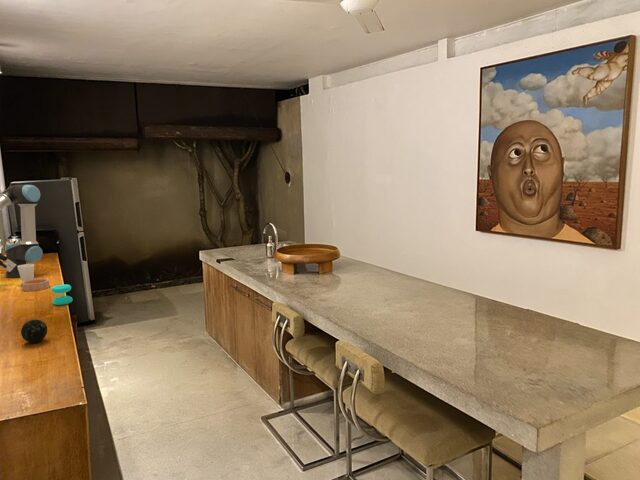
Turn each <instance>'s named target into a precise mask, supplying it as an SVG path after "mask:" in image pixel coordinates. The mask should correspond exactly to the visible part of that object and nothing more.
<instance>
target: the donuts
mask: <svg viewBox="0 0 640 480" xmlns="http://www.w3.org/2000/svg"><path fill="white" fill-rule="evenodd" d="M71 290H72V286H71V285H70V284H57V285H54V286H52V287H51V290H50V291H51V292H52V293H54V294H65V293H68V292H70V291H71ZM73 300H74V299H73V297H72V296H70V295H61V296H56V297H55V298H54V299H52V303H53V305H56V306H65V305H69V304H72V303H73Z"/></svg>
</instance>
